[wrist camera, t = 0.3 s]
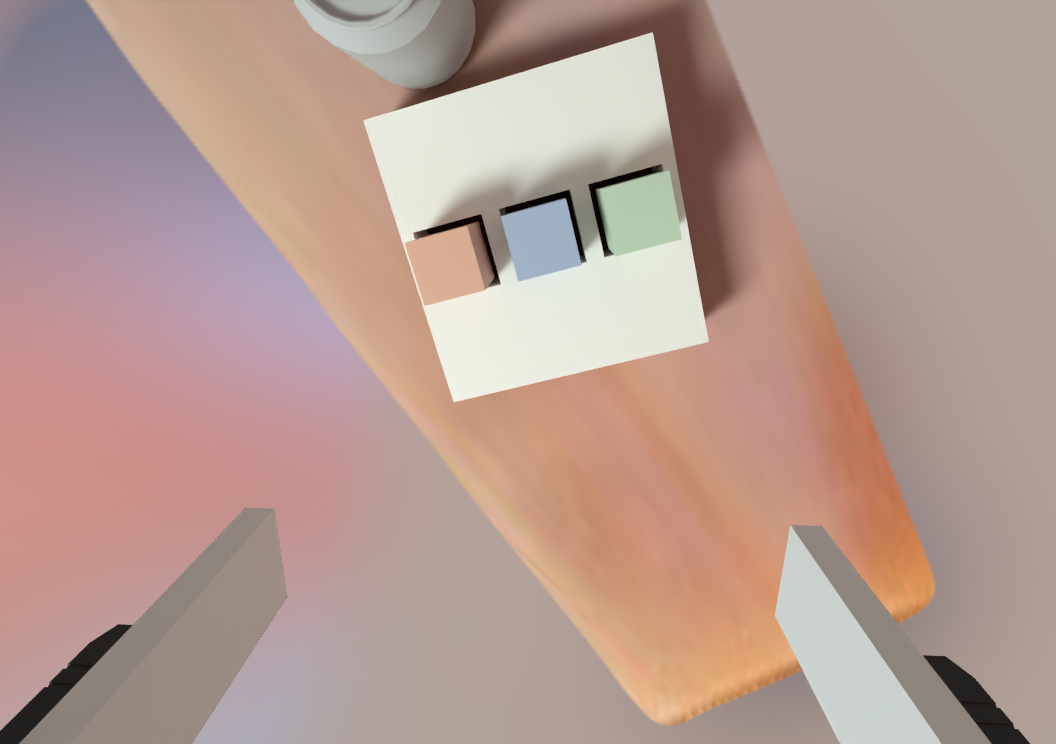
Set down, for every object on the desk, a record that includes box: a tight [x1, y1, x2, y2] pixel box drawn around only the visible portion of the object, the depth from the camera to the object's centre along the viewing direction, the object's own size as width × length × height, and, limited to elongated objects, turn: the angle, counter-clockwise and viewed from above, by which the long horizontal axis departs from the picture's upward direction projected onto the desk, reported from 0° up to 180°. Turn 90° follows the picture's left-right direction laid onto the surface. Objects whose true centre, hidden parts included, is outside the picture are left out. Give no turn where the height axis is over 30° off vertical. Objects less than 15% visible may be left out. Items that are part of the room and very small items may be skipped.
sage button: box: [595, 170, 682, 256], centre depth 33 cm, size 4×4×5 cm
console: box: [364, 32, 709, 402], centre depth 37 cm, size 18×17×4 cm
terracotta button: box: [405, 222, 495, 306], centre depth 34 cm, size 4×4×5 cm
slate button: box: [501, 198, 582, 282], centre depth 34 cm, size 4×4×5 cm
